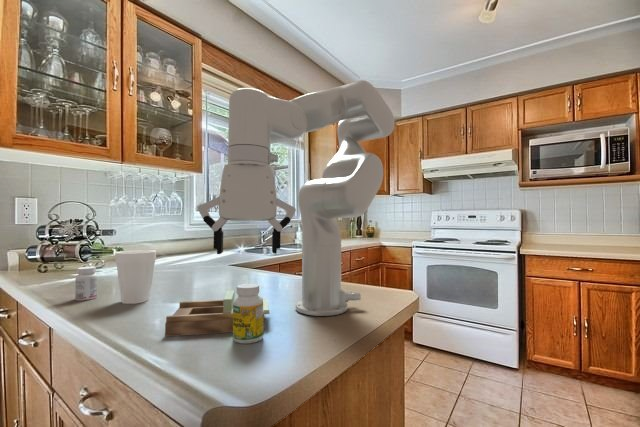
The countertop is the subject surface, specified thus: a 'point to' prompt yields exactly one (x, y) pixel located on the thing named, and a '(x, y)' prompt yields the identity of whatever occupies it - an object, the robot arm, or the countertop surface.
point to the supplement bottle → (247, 314)
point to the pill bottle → (86, 283)
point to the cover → (230, 298)
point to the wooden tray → (200, 319)
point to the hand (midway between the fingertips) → (247, 253)
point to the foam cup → (135, 274)
